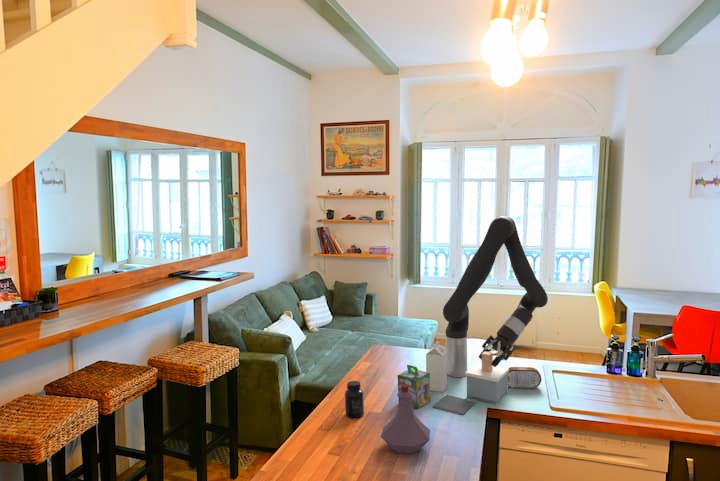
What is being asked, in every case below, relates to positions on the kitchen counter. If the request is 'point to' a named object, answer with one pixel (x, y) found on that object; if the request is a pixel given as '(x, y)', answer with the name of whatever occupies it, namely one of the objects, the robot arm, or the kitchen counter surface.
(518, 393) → the kitchen counter surface
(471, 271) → the robot arm
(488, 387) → the box
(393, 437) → the flask
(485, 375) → the lid
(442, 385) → the milk carton
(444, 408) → the mat
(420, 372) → the green handled carton
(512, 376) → the tin
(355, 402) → the supplement bottle
